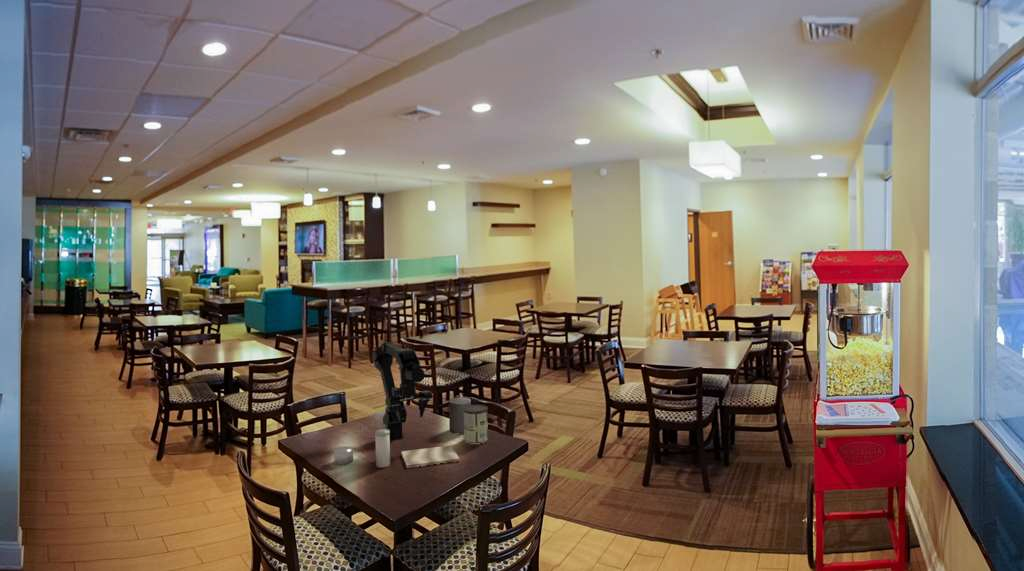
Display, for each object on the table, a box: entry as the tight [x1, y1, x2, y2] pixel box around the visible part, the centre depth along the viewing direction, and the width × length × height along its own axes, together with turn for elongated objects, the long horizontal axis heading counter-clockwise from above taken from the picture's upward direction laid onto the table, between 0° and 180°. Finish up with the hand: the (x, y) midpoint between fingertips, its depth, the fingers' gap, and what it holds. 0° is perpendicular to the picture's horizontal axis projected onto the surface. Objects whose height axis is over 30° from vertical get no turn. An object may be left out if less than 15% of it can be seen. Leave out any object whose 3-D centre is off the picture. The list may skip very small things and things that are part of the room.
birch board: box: [401, 445, 460, 469], centre depth 223 cm, size 20×15×1 cm
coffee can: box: [463, 404, 489, 445], centre depth 242 cm, size 10×10×14 cm
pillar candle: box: [448, 397, 472, 434], centre depth 255 cm, size 10×10×15 cm
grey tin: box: [333, 446, 354, 467], centre depth 220 cm, size 7×7×5 cm
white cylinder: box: [374, 428, 391, 469], centre depth 216 cm, size 5×5×13 cm
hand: (411, 419), depth 233 cm, fingers open, 9 cm apart
